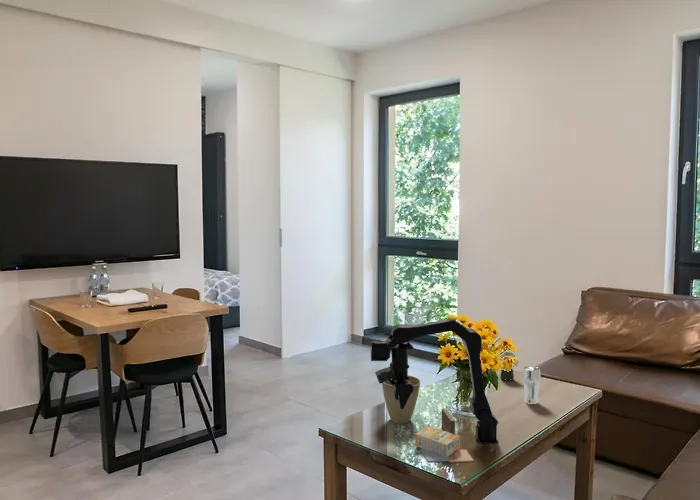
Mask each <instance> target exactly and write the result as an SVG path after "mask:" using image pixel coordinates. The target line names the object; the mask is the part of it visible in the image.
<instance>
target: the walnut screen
mask: <svg viewBox="0 0 700 500" xmlns="http://www.w3.org/2000/svg"><path fill="white" fill-rule="evenodd" d="M441 430H443V431H446V432H449V433H452V434H455V435H456V420H455V418H454V417H453V416H452V415H451V413H450V412H449V411H448V409H447V408H441Z"/></svg>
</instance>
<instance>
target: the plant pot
mask: <svg viewBox="0 0 700 500" xmlns="http://www.w3.org/2000/svg"><path fill="white" fill-rule="evenodd" d="M408 376H409V380H405V381H409V382H411V384H412V385H413V392H412V393H411V395H410V397H409V399H408V401H407V403H406V405H405V407H404V409H400V404H399V400H396V399H395V395H394V390H393V385H392V384H391V383H390V382H389V380H387V381H385V382H383V383H381V385H382V392H383V397H384V402H385V405H386V409H387V413H388V415H389V416H388V417H389V418H390V420H391V422H392V423H395V424H397V425H398V424H399V425H400V424H401V425H402V424H404V425H405V424H408V423H410V421H411V419H412V416H413V414H414V411H415V409H416V405H417V401H418V398H419V392H420V387H421V380H420V378H418V377H415V376H413V375H409V374H408Z"/></svg>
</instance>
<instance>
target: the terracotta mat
mask: <svg viewBox="0 0 700 500" xmlns="http://www.w3.org/2000/svg"><path fill="white" fill-rule="evenodd" d="M453 454H454V455H455V456H456V457H454V458H453ZM453 454H451V458H450V457H449V456H448V457H447V458H448V459H449V458H450V459H449V461H448V462H449V463H465V462H466V463H467V462H469V463H470V462H474V459H473V457H472V456H471V455H470V453H469V452H468V450H467V449H458V450H457V451H456V452H454V453H453Z"/></svg>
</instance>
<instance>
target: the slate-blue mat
mask: <svg viewBox="0 0 700 500" xmlns="http://www.w3.org/2000/svg"><path fill="white" fill-rule="evenodd" d="M420 450H421V451H422V454H423V456H424V458H425V459H426V462H427V463H435V462H438V463H439V462H449V459H450V458H451V455H450V456H449V457H450V458H449V459H448V458H447V457H444V456H442V455H439V454H436V453H433V452H431V451H428V450H425V449H422V448H420ZM454 457H456V456H455V455H454V454H453V458H454Z"/></svg>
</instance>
